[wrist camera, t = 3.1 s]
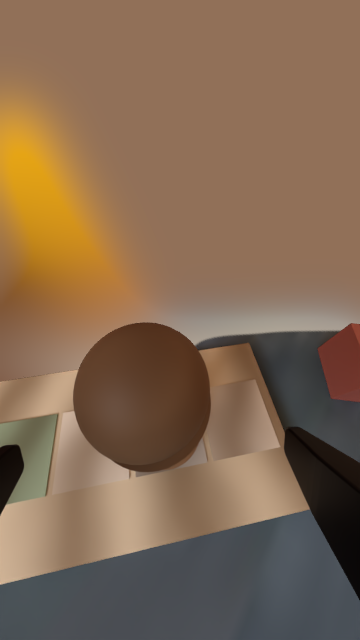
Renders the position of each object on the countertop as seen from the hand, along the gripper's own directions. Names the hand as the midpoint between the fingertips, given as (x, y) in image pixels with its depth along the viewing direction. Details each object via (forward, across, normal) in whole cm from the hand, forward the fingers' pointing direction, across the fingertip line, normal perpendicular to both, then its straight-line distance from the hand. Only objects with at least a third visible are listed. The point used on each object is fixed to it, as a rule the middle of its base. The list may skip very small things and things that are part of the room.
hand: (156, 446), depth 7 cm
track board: (+7, +5, +6) cm, 10 cm away
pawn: (+6, 0, +5) cm, 8 cm away
